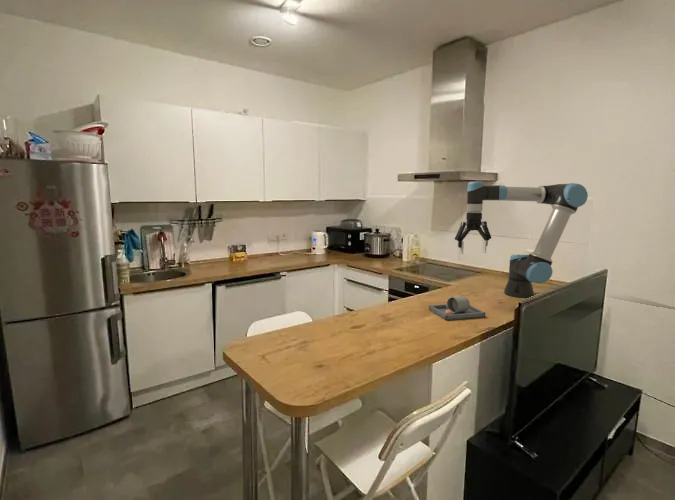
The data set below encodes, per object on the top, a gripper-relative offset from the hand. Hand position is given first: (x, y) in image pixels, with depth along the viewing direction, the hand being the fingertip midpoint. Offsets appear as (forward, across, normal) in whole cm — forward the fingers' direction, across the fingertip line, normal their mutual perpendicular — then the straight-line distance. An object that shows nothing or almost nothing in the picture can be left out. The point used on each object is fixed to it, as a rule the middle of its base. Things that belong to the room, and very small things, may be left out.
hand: (472, 253), depth 194 cm
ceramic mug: (+25, +19, +15) cm, 35 cm away
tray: (+26, +19, +16) cm, 36 cm away
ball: (+25, +27, +21) cm, 42 cm away
